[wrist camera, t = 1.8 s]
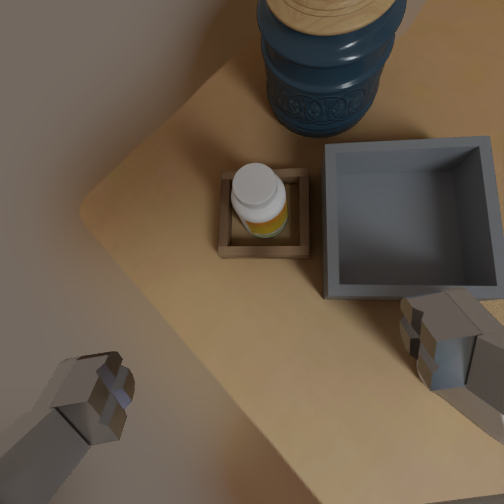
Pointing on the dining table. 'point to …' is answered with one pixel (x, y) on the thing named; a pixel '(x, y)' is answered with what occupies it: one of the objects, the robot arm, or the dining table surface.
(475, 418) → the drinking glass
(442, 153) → the bin
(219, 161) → the dining table surface
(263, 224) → the supplement bottle
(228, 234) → the socket collar
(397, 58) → the dining table surface
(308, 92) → the canister
